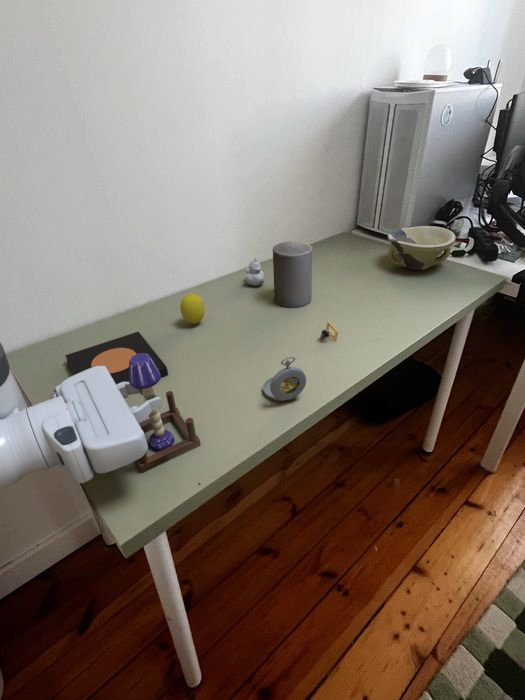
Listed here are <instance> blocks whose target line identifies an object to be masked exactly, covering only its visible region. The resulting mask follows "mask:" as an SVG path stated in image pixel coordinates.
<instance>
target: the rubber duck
mask: <svg viewBox="0 0 525 700" xmlns="http://www.w3.org/2000/svg"><path fill="white" fill-rule="evenodd" d="M260 263H261V262H259V260H258V259H256V257H254V259H253V260H251V261H250V263H249V265H248V268H246V269H245V276H244V279H245V282H246V283H247V284H249V285H251V286H253V287H258V286H260V285H262V284H264V282H265V279H266V276H265V273H264V271H263V270H262V266H261V264H260Z"/></svg>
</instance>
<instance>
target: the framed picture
mask: <svg viewBox="0 0 525 700" xmlns="http://www.w3.org/2000/svg"><path fill="white" fill-rule="evenodd" d="M330 328H331V329H332V331H334V334H333V333H332V332H331V331H330ZM338 336H339V331H338V330H337V329H336V327H334V326H333V325H332V324H331V322H330V321H327V324H326V328H325V329H322V331H321V334H320V337H318V338H317V340H323V341H324V340H325V339H327V338H328V337H332V339H333V340H334V341H337V339H338Z"/></svg>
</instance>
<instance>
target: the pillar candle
mask: <svg viewBox="0 0 525 700" xmlns="http://www.w3.org/2000/svg"><path fill="white" fill-rule="evenodd" d="M272 266H273V268H272V269H273V271H272V273H273V293H274V297H273V301H274V302H275V303H276V304H277V305H278V306H281V307H285V308H300V307H304V306H307V305H308V304H309V303H311V302H312V291H313V287H312V286H313V246H312V245H310V244H309V243H308V242H303V241H296V240H295V241H294V240H292V241H291V240H289V241H283V242H280V243H277V244H275V245H273V247H272Z"/></svg>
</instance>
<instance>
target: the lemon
mask: <svg viewBox="0 0 525 700" xmlns="http://www.w3.org/2000/svg"><path fill="white" fill-rule="evenodd" d="M179 309H180V315H181V316H182V318H183V320H184V321H186V322H187V323H189V324H193V325H196V324H197V323H199V322H201V321H202V320H203V319H204V317H205V311H206V310H205V309H206V308H205V304H204V300H202V298H201V297H200V296H199V295H197V294H195V293H191V292H190V293H187V294H186V295H184V296H183V297H182V299H181V301H180V307H179Z"/></svg>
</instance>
